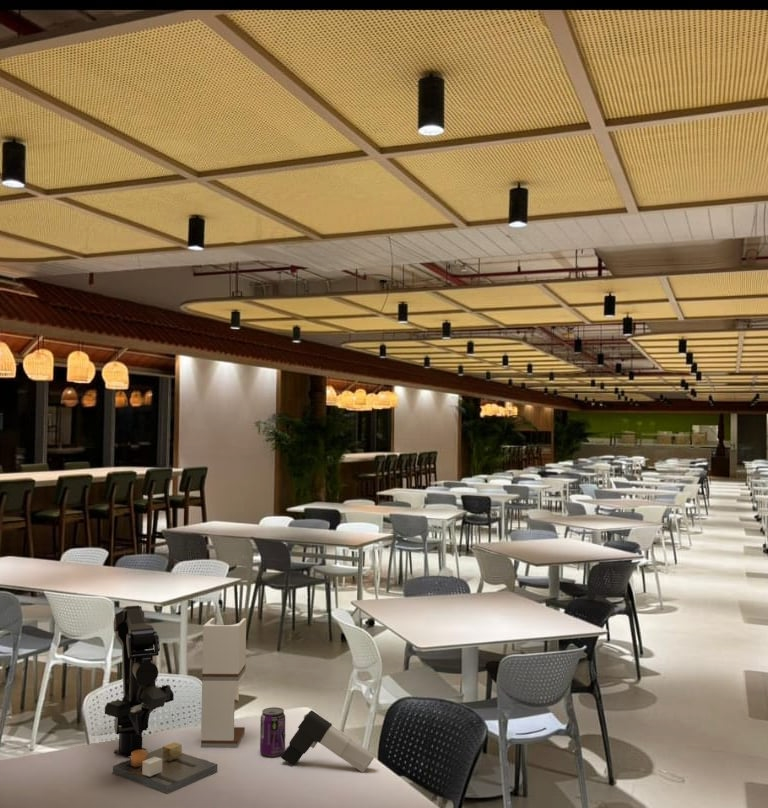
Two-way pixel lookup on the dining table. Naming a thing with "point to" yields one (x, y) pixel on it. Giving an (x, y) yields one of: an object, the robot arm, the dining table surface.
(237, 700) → the beige tower stand
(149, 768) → the beige block
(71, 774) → the dining table surface
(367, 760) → the handheld device
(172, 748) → the tan block
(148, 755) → the plate
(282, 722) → the beverage can
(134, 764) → the orange push button
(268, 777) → the dining table surface
